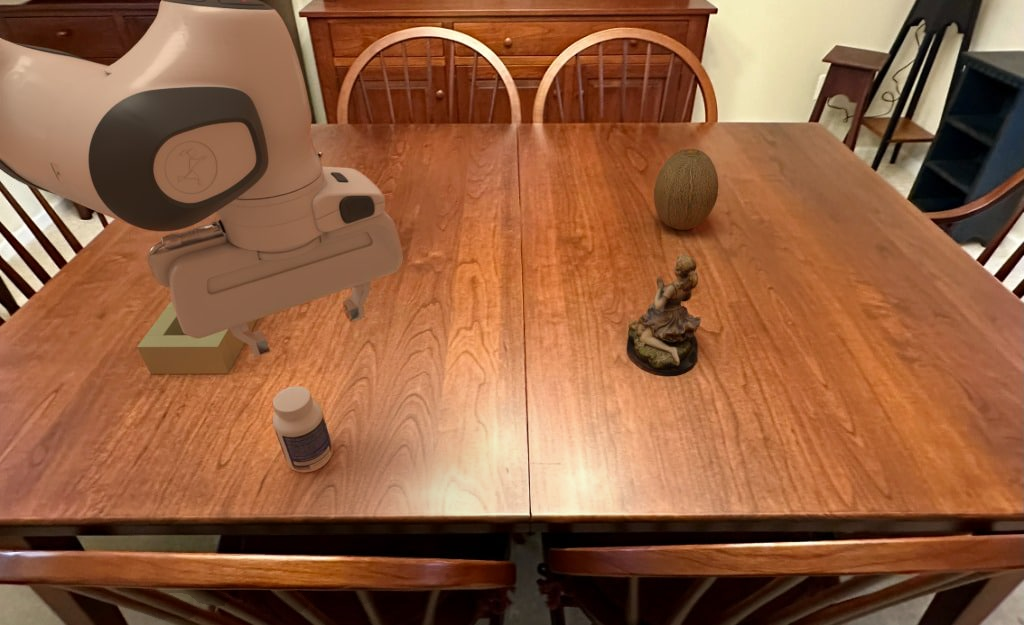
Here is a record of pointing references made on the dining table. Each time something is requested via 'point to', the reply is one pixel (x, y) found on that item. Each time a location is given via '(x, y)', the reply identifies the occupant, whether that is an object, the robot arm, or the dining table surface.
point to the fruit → (686, 189)
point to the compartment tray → (188, 348)
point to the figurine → (667, 326)
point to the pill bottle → (301, 429)
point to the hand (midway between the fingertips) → (309, 333)
